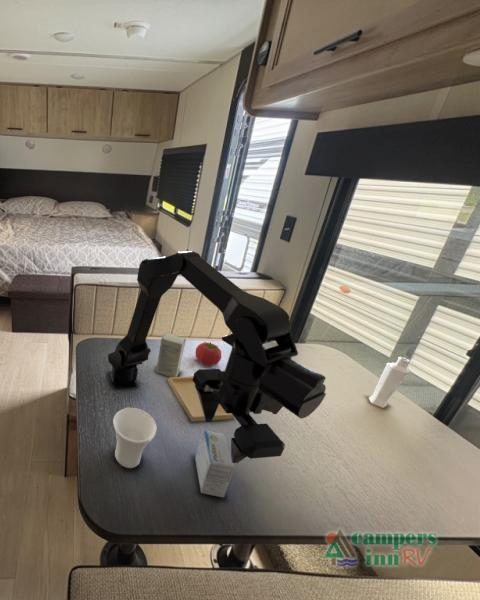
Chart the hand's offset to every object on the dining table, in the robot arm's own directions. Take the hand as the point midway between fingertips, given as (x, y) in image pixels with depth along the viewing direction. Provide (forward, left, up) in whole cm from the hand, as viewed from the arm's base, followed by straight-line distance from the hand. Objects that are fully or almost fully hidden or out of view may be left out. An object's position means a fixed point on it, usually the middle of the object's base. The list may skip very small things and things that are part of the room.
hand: (220, 440), depth 58 cm
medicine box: (0, 0, -11) cm, 11 cm away
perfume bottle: (+61, +17, -11) cm, 64 cm away
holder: (+9, +22, -10) cm, 26 cm away
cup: (-15, +6, -11) cm, 19 cm away
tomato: (+20, +38, -11) cm, 44 cm away
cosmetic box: (+5, +34, -11) cm, 36 cm away
